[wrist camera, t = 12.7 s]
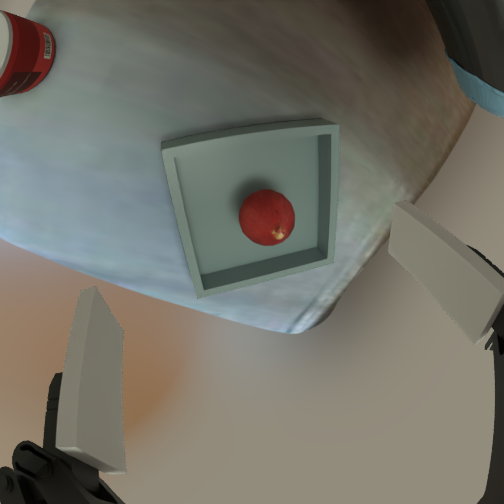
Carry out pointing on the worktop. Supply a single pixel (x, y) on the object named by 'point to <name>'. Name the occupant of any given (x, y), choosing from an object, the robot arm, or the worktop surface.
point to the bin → (241, 186)
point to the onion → (267, 217)
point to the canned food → (23, 53)
